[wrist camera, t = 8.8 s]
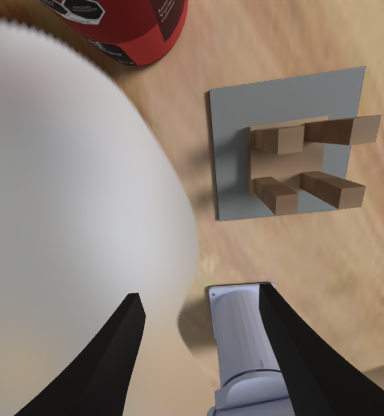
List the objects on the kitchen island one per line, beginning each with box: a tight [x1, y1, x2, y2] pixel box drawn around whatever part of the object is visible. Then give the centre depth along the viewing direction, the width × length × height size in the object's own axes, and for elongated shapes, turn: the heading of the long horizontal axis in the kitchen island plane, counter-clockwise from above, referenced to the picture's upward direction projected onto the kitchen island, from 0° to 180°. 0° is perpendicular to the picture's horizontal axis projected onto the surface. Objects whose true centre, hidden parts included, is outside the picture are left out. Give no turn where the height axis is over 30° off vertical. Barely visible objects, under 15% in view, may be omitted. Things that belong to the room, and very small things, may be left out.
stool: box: [247, 115, 381, 216], centre depth 14 cm, size 6×6×6 cm
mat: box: [209, 66, 366, 221], centre depth 17 cm, size 12×12×1 cm
